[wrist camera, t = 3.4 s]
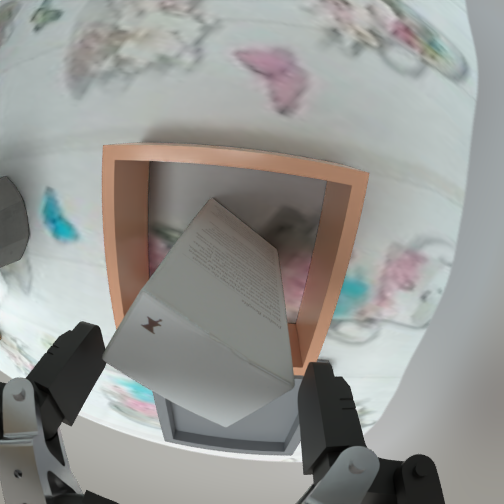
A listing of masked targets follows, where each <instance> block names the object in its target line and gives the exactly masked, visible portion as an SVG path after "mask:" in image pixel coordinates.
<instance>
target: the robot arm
mask: <svg viewBox="0 0 504 504" xmlns="http://www.w3.org/2000/svg"><path fill="white" fill-rule="evenodd" d="M104 351H105V346H104V342H103V338H102V334H101V330H100V327H99V326H97V325H94V324H90V323H87V322H84V321H81V322H79V323H78V325H77V326H76V327H75V328H74V329H73V330H72V331H71V330H69V331H67V332H66V333H64V334H62V335H61V336H59V337H58V339H57V340H56V341H55V342H54V343H53V346H51V347H50V348H49V349H48V351H47V353H45V354H44V356H43V357H42V358H41V359H40V361H39V362H38V363H37V364H36V366H35V367H34V368H33V370H32V371H31V372H30V373H29V375H28V376H27V377H26V378H14V379H12V380H10V381H9V382H8V383H7V384H6V383H2V382H0V481H1V486H2V491H3V496H4V500H5V504H118V503H117V502H114V501H112V500H109V499H107V498H104V497H102V496H99V495H97V494H95V493H92V492H90V491H88V490H86V492H85V494H83V493H82V490H81V488H80V485H79V483H78V481H77V480H76V478H75V476H74V475H73V473H72V471H71V469H70V466H69V462H68V458H67V455H66V451H65V447H64V443H63V438H62V434H61V430H60V428H59V426H60V425H61V422H63V423H65V424H68V425H69V426H72V425H73V423H74V421H75V419H76V417H77V415H78V414H79V412H80V410H81V408H82V406H83V404H84V403H85V401H86V399H87V397H88V395H89V394H90V392H91V390H92V388H93V387H94V385H95V383H96V381H97V380H98V378H99V376H100V375H101V373H102V371H103V370H104V368H105V365H106V362H105V361H104V360H103V359H102V356H103V353H104ZM297 401H298V413H299V424H300V436H301V448H302V461H303V474H304V475H311V474H313V479H314V483H313V484H312V485H311V486H310V487H309V488H308V490H307V491H306V492H305V493H304V495H303V496H302V497H301V498H300V499H299V500H298V502H297V503H296V504H445V501H444V497H443V493H442V488H441V484H440V480H439V476H438V473H437V469H436V466H435V464H434V462H433V461H432V460H431V459H430V458H429V457H428V456H425V455H421V454H417V455H413V456H411V457H409V458H408V459H407V460H406V461H395V460H387V459H382V458H379V457H377V455H376V454H375V453H374V452H373V451H372V450H370V449H368V448H367V446H366V444H365V441H364V437H363V433H362V429H361V425H360V421H359V418H358V414H357V410H356V409H355V408H356V406H355V403H354V401H353V396H352V392H351V388H350V386H349V385H348V384H347V382H346V381H345V380H344V379H343V377H334V373H333V369H332V366H331V364H330V363H324V362H309V364H308V366H307V369H306V371H305V374H304V377H303V379H302V382H301V385H300V387H299V391H298V400H297Z"/></svg>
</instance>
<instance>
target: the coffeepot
mask: <svg viewBox="0 0 504 504" xmlns="http://www.w3.org/2000/svg"><path fill="white" fill-rule="evenodd" d="M28 237H29V229H28V218H27V213H26V209H25V205H24V202H23V199H22V197H21V195H20V193H19V191H18V189H17V188H16V186H15V185H14V184H13V183H12V182H11V181H10V180H8V178H7V177H1V178H0V268H1V267H3V266H5V265H8V264H10V263H13V262H15V261H18V260H20V259H21V257H22V255H23V252H24V250H25V248H26V246H27V242H28Z"/></svg>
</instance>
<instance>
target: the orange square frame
mask: <svg viewBox="0 0 504 504" xmlns="http://www.w3.org/2000/svg"><path fill="white" fill-rule="evenodd" d="M150 161H164V162H181V163H196V164H208V165H219V166H229V167H238V168H247V169H255V170H263V171H270V172H277V173H284V174H291V175H297V176H304V177H310V178H315V179H321V180H327V184H326V190H325V196H324V201H323V206H322V211H321V217H320V222H319V227H318V231H317V236H316V241H315V246H314V250H313V255H312V259H311V264H310V268H309V273H308V277H307V281H306V285H305V289H304V294H303V298H302V302H301V306H300V310H299V313H298V317H297V321H296V324H291V323H287V324H288V332H289V341H290V348H291V356H292V365H293V372H294V375H303V376H304V374H305V371H306V369H307V366H308V364H309V362H317V359H318V356H319V354H320V351H321V348H322V346H323V343H324V340H325V337H326V334H327V331H328V329H329V326H330V323H331V320H332V317H333V314H334V311H335V308H336V304H337V301H338V298H339V295H340V292H341V288H342V285H343V282H344V278H345V275H346V271H347V268H348V264H349V260H350V257H351V253H352V249H353V245H354V241H355V237H356V233H357V229H358V225H359V221H360V216H361V212H362V207H363V203H364V198H365V193H366V188H367V183H368V178H369V173H368V172H365V171H362V170H359V169H356V168H353V167H350V166H346V165H343V164H339V163H334V162H329V161H324V160H319V159H313V158H308V157H302V156H296V155H289V154H283V153H276V152H269V151H261V150H253V149H245V148H235V147H225V146H214V145H200V144H183V143H156V142H137V143H122V144H111V145H103V156H102V214H103V233H104V246H105V257H106V266H107V275H108V282H109V289H110V296H111V302H112V308H113V314H114V320H115V325H116V330H117V328H118V327H119V325H120V323H121V322H122V320H123V318H124V317H125V315H126V313H127V312H128V310H129V308H130V307H131V305H132V304H133V302H134V300H135V299H136V297H137V295H138V294H139V292H140V290H141V289H142V288H143V287H144V285H145V284H146V283H147V281H148V280H149V262H148V182H149V162H150Z"/></svg>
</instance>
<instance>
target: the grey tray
mask: <svg viewBox="0 0 504 504" xmlns="http://www.w3.org/2000/svg"><path fill="white" fill-rule="evenodd" d="M317 362H324V363H329V361H328V360H317ZM303 377H304V376H303V375H294V381H295V386H294V388H293V389H292V390H290V391H288V392H287V393H285V394H283V395H281V396H280V397H278V398H276V399H275V400H273V401H271V402H270V403H268V404H266V405H265V406H263V407H261V408H260V409H258V410H256V411H255V412H253V413H251V414H249V415H248V416H246V417H244V418H243V419H241V420H239V421H237V422H235V423H234V424H232V425H230V426H228V427H223V426H221V425H219V424H217V423H215V422H212V421H210V420H208V419H206V418H204V417H201V416H199V415H197V414H195V413H193V412H191V411H189V410H187V409H185V408H183V407H181V406H179V405H177V404H175V403H173V402H171V401H169V400H168V399H166V398H164V397H162V396H160V395H159V394H157V393H155V392H154V391H153V396H154V400H155V405H156V409H157V413H158V417H159V421H160V425H161V429H162V432H163V436H164V440H165V441H167V442H171V443H176V444H181V445H186V446H191V447H197V448H203V449H210V450H217V451H225V452H234V453H244V454H259V455H292V454H293V453H294V451H295V449H296V448H297V446H298V444H299V443H300V441H301V436H300V424H299V413H298V401H297V400H298V391H299V387H300V385H301V382H302V379H303Z"/></svg>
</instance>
